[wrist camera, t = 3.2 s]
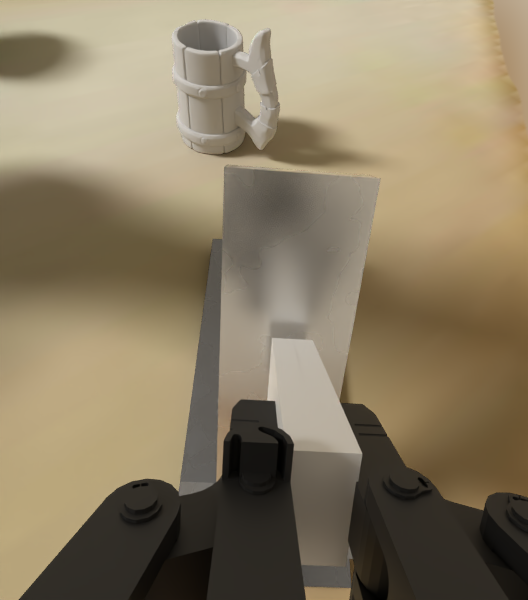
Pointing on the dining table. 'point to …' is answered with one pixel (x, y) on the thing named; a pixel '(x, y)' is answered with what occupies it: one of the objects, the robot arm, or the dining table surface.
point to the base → (204, 418)
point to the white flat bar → (288, 273)
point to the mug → (222, 86)
